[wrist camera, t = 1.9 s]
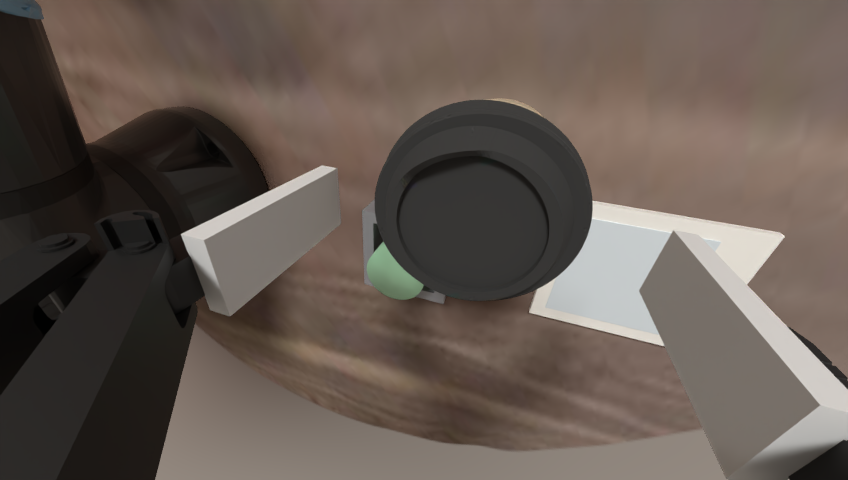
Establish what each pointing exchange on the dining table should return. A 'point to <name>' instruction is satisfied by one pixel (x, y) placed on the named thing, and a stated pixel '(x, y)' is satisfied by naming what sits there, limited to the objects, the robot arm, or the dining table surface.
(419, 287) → the button
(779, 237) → the white flat piece
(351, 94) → the dining table surface
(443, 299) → the button box
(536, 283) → the coffee cup
